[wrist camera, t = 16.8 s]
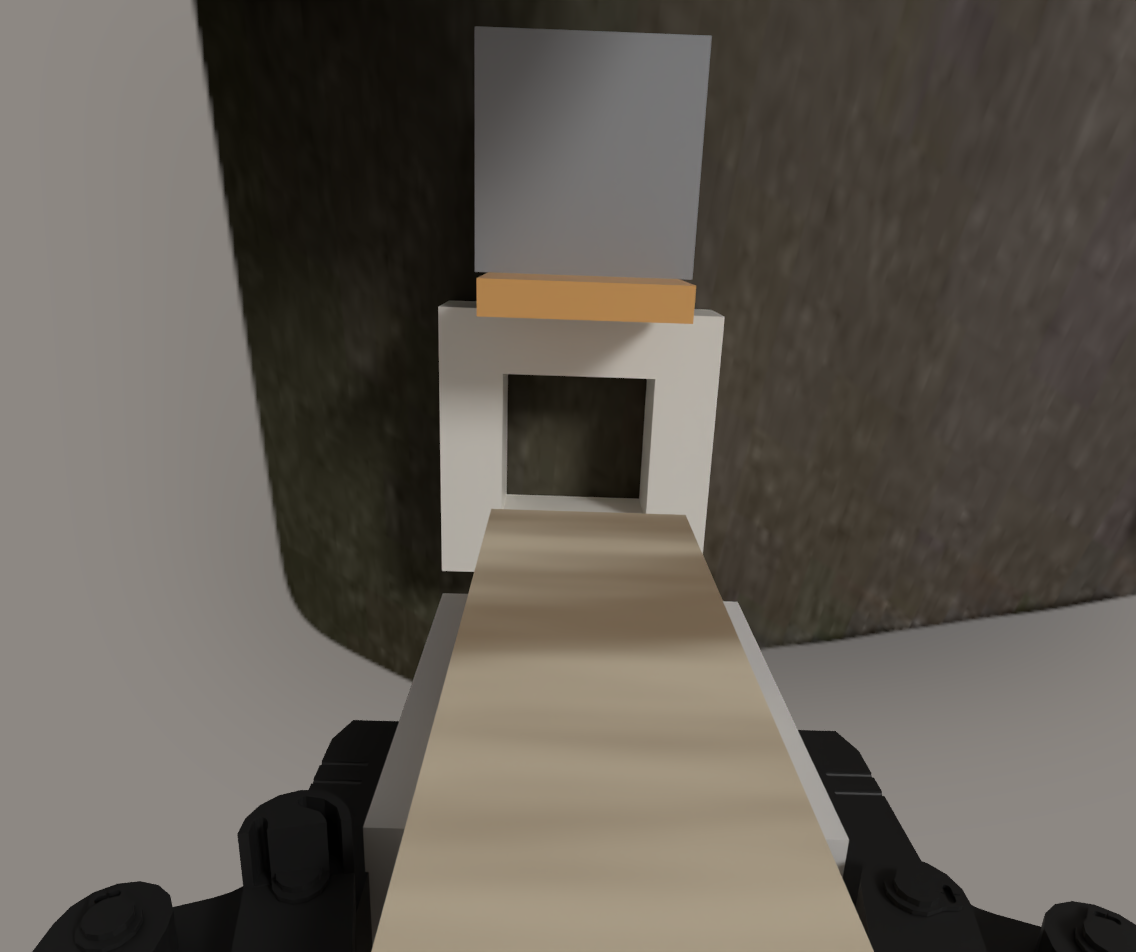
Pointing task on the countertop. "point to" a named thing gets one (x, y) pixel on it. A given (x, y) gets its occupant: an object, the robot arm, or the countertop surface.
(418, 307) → the countertop surface
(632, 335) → the socket
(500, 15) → the countertop surface
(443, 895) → the peg
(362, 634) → the countertop surface
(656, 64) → the shutter
